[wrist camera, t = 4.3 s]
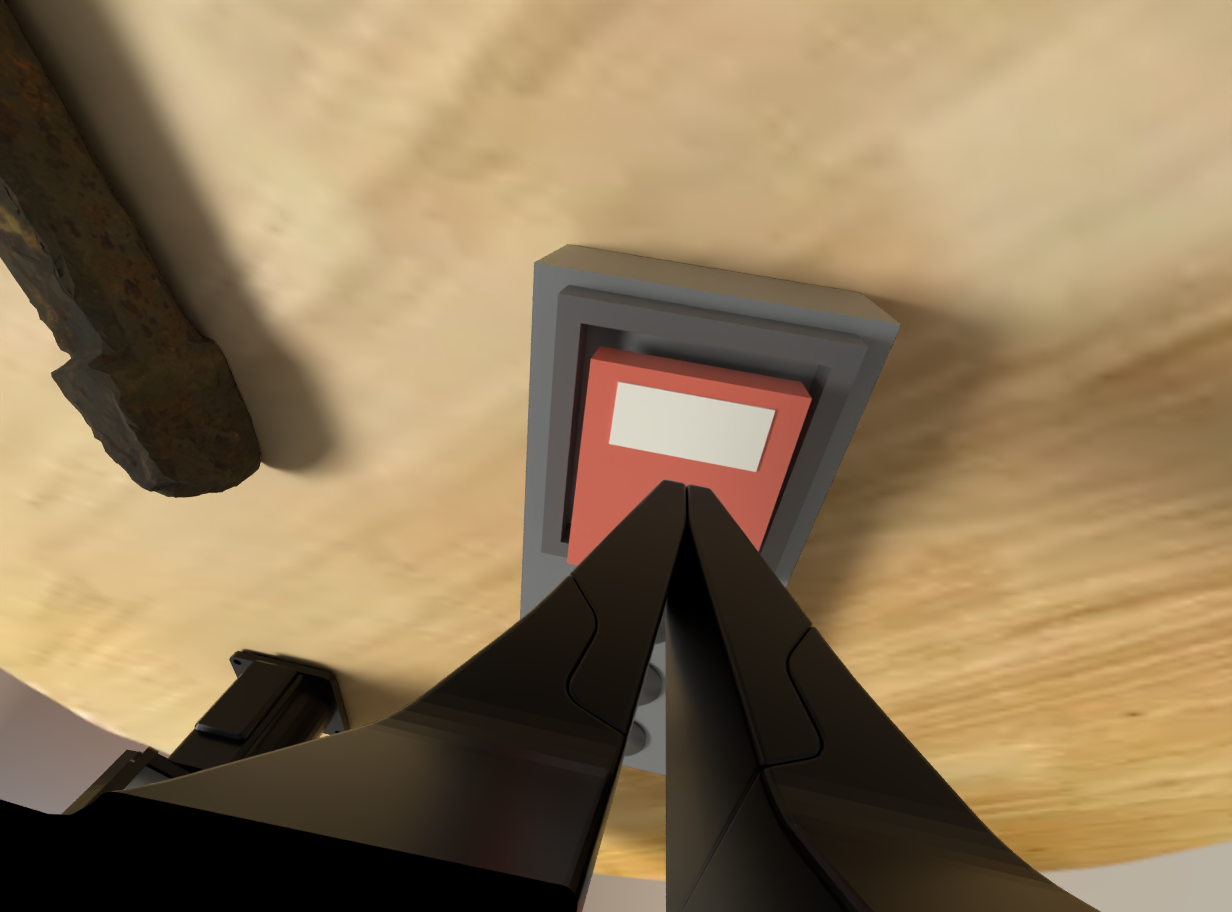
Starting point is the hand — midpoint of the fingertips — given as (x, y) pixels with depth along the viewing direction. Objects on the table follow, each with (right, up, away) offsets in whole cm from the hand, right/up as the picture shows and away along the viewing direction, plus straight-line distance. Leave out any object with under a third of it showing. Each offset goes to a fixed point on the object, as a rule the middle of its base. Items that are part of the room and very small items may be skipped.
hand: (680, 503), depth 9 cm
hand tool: (-18, +9, +9) cm, 22 cm away
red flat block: (0, 0, +4) cm, 4 cm away
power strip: (0, -3, +12) cm, 12 cm away
